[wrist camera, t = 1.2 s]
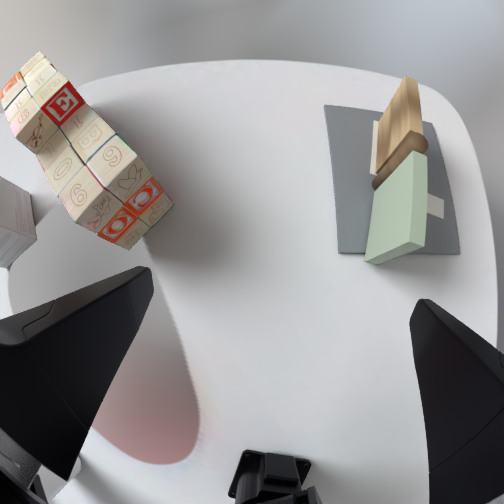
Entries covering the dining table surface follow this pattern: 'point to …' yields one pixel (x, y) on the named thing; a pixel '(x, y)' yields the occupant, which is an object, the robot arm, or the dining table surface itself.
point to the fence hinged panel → (399, 212)
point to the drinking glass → (55, 480)
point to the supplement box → (14, 222)
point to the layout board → (363, 172)
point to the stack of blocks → (82, 155)
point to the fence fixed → (399, 131)
